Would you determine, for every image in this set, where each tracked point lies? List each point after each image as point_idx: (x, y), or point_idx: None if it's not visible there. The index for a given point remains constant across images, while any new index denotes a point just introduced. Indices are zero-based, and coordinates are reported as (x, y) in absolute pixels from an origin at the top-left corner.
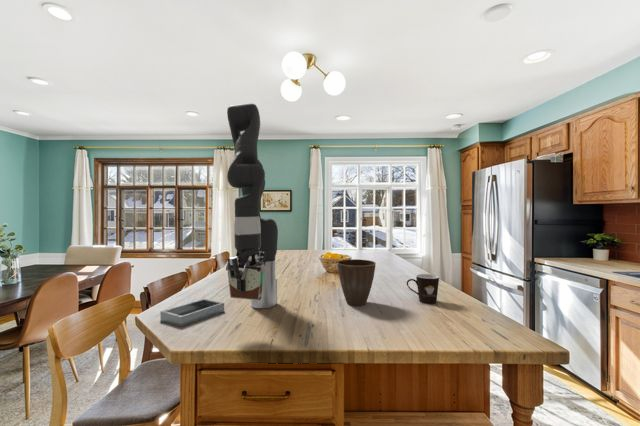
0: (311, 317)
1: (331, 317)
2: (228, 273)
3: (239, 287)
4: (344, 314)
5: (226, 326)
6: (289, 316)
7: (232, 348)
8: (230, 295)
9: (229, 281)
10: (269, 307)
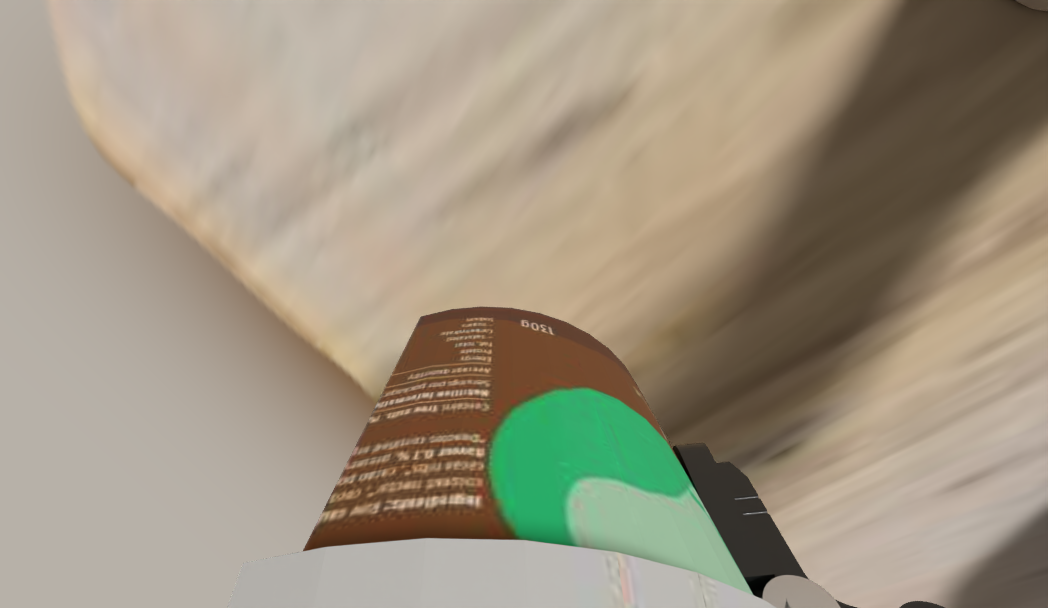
0: (893, 387)
1: (922, 458)
2: (321, 540)
3: None
4: (984, 479)
5: (522, 57)
6: (871, 280)
7: (355, 359)
8: (418, 329)
9: (377, 429)
10: (1029, 5)
